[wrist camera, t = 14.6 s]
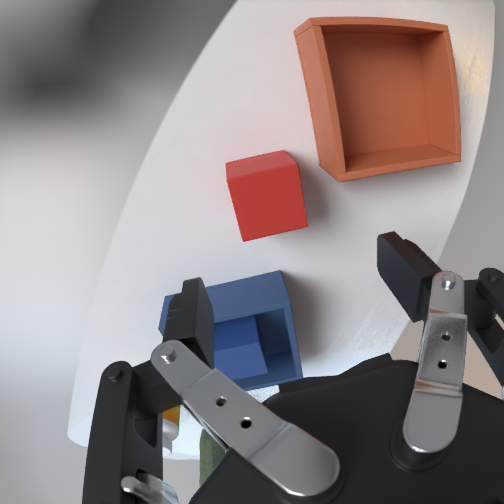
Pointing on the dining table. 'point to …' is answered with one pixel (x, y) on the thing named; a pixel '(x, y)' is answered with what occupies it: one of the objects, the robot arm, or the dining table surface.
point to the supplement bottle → (170, 429)
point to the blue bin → (269, 320)
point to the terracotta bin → (380, 94)
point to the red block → (266, 195)
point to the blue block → (239, 348)
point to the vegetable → (208, 455)
